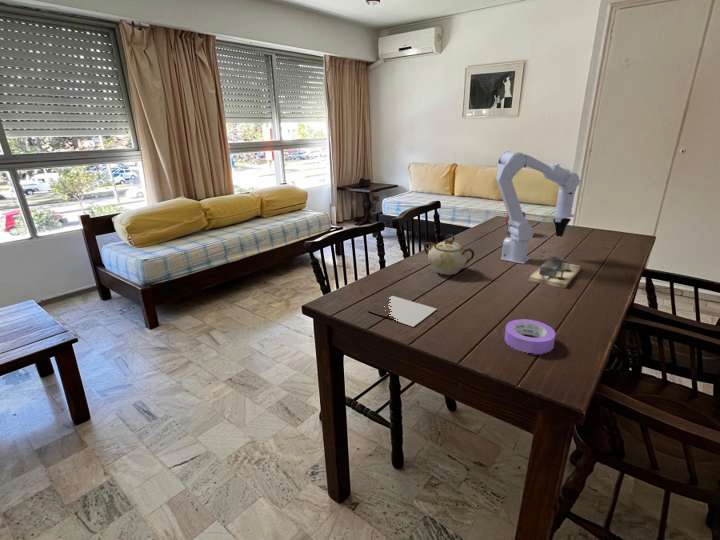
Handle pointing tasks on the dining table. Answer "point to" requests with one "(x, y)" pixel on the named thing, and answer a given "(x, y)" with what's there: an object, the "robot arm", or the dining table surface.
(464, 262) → the cream teapot
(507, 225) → the mechanical component
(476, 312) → the dining table surface
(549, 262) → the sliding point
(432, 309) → the paper stack
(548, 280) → the hole board
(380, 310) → the dining table surface
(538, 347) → the masking tape
